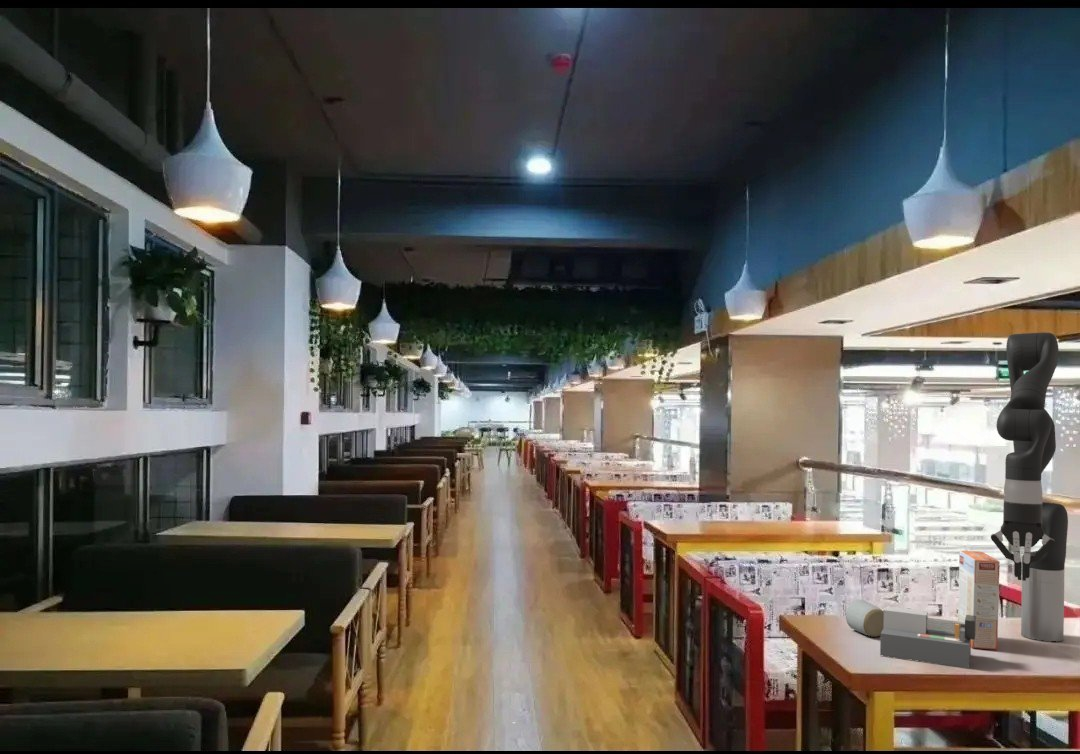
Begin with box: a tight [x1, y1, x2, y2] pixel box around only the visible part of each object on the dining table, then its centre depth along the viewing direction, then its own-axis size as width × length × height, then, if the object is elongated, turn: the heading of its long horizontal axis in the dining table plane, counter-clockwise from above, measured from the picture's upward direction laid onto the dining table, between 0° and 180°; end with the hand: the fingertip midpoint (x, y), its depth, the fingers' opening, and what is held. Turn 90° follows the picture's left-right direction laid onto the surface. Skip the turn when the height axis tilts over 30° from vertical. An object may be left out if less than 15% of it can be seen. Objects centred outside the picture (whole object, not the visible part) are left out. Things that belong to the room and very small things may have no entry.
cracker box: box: [957, 550, 1000, 651], centre depth 221 cm, size 14×6×21 cm, turn 168°
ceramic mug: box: [845, 599, 884, 638], centre depth 226 cm, size 11×8×8 cm
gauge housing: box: [879, 605, 972, 669], centre depth 208 cm, size 12×18×9 cm, turn 63°
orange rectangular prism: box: [955, 624, 959, 639], centre depth 202 cm, size 1×1×3 cm
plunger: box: [926, 615, 976, 641], centre depth 206 cm, size 9×11×4 cm
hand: (1021, 579), depth 201 cm, fingers closed
